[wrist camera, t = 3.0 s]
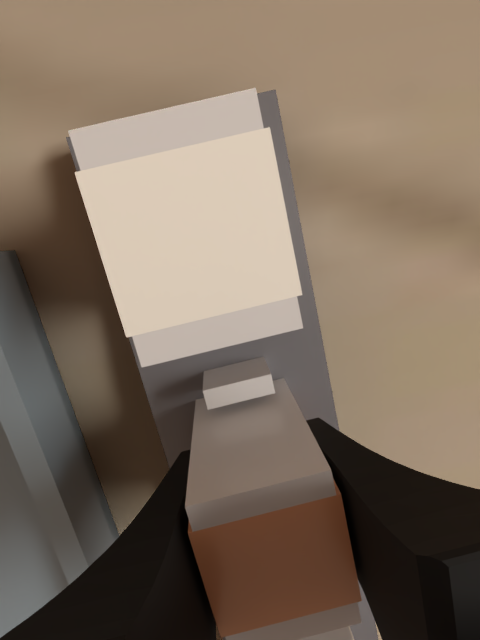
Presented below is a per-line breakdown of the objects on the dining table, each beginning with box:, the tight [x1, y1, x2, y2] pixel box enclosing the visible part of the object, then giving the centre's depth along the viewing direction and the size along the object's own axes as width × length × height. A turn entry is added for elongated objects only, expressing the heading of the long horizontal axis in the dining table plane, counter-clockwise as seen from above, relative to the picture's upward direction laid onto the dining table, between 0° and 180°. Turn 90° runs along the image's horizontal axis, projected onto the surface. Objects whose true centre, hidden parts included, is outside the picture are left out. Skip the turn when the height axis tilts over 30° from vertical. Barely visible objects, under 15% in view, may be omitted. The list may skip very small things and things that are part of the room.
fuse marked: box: [185, 378, 362, 640], centre depth 10 cm, size 4×3×5 cm
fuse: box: [68, 88, 303, 367], centre depth 9 cm, size 4×3×5 cm
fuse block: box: [66, 90, 378, 640], centre depth 12 cm, size 21×6×3 cm, turn 13°
